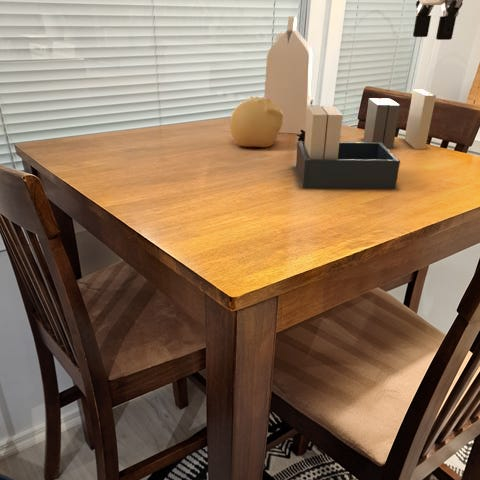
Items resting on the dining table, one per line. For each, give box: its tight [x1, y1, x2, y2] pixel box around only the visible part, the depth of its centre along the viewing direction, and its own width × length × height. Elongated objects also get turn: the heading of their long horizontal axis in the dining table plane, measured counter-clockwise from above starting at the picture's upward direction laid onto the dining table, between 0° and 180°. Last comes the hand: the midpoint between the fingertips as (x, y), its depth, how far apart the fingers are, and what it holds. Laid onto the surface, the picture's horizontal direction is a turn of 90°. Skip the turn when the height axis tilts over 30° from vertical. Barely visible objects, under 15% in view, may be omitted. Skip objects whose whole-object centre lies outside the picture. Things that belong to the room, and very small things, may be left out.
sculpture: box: [229, 96, 283, 148], centre depth 116 cm, size 12×12×11 cm
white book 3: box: [404, 89, 437, 150], centre depth 115 cm, size 2×9×12 cm, turn 0°
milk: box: [263, 16, 313, 135], centre depth 128 cm, size 12×12×26 cm
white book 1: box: [304, 105, 327, 159], centre depth 91 cm, size 2×9×12 cm, turn 0°
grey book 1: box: [362, 97, 388, 143], centre depth 116 cm, size 2×9×10 cm, turn 0°
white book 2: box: [320, 105, 343, 159], centre depth 91 cm, size 2×9×12 cm, turn 0°
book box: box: [295, 141, 401, 190], centre depth 93 cm, size 17×14×6 cm
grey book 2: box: [379, 98, 401, 149], centre depth 116 cm, size 2×9×10 cm, turn 0°
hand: (431, 38), depth 104 cm, fingers open, 9 cm apart
